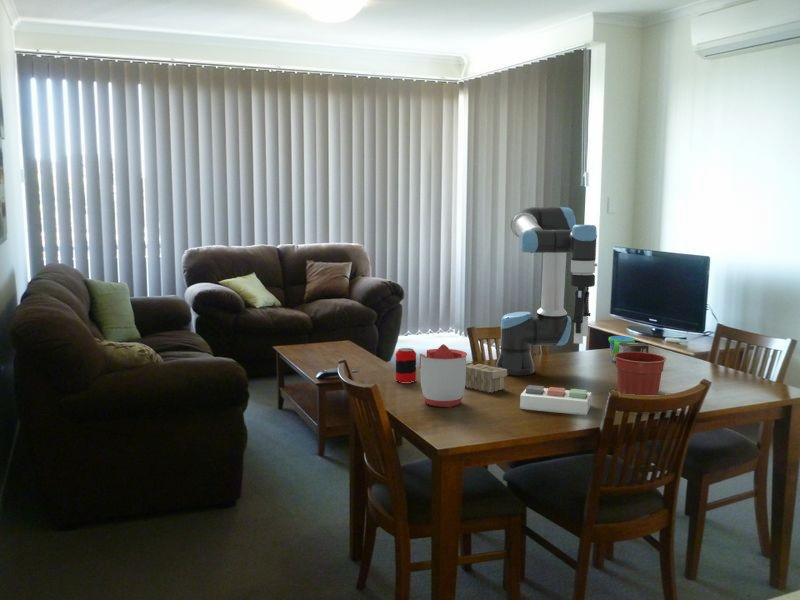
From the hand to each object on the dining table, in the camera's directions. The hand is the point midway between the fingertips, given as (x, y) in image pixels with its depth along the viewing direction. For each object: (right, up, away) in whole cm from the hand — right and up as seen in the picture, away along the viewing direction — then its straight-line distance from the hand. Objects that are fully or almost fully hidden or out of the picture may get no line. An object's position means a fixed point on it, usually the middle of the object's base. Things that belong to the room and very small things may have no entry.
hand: (580, 339), depth 240 cm
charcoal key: (-13, -19, +7) cm, 24 cm away
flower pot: (+21, -22, +10) cm, 32 cm away
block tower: (-32, -19, +36) cm, 52 cm away
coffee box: (+26, -19, +31) cm, 45 cm away
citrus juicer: (-44, -22, +11) cm, 51 cm away
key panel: (-7, -22, +5) cm, 24 cm away
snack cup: (+35, -13, +74) cm, 82 cm away
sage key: (0, -20, +2) cm, 20 cm away
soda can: (-56, -18, +40) cm, 71 cm away
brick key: (-7, -19, +5) cm, 21 cm away
